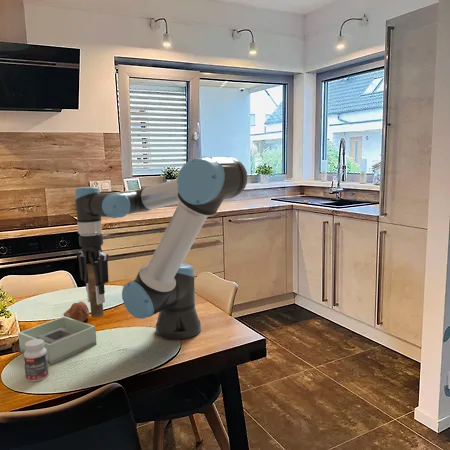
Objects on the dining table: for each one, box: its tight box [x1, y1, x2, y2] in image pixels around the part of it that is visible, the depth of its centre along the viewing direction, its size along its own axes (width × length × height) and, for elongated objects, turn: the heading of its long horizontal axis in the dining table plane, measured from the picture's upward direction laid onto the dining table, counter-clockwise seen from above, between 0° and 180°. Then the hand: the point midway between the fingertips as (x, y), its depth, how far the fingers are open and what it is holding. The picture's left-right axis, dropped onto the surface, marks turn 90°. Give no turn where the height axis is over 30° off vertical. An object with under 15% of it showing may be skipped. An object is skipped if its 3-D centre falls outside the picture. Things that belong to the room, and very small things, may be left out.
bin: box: [17, 315, 97, 366], centre depth 132 cm, size 16×16×6 cm
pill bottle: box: [23, 339, 49, 383], centre depth 114 cm, size 6×6×10 cm
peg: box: [87, 263, 105, 318], centre depth 143 cm, size 4×4×18 cm
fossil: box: [63, 301, 90, 323], centre depth 153 cm, size 13×8×10 cm
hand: (96, 302), depth 144 cm, fingers closed on peg, 4 cm apart
